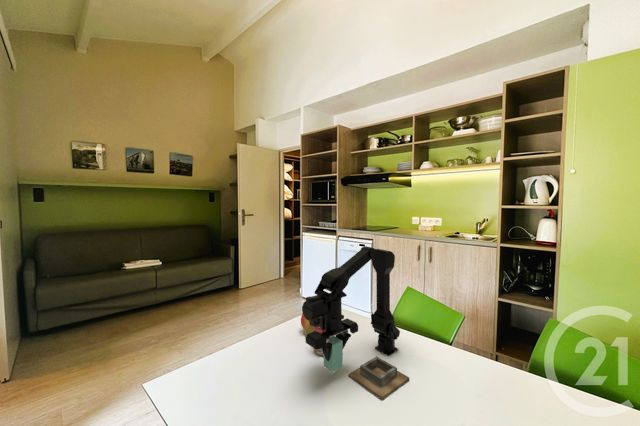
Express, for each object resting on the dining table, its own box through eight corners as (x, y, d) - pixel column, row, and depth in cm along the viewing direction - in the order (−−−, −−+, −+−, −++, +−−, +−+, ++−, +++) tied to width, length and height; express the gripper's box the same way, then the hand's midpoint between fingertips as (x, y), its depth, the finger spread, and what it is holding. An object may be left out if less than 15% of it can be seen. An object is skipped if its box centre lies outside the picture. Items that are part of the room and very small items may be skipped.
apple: (296, 332, 123) (296, 310, 122) (312, 325, 129) (312, 304, 129) (310, 340, 116) (310, 316, 115) (326, 332, 122) (326, 310, 122)
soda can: (330, 357, 103) (330, 323, 102) (311, 355, 104) (311, 322, 103) (333, 347, 110) (333, 315, 109) (315, 345, 111) (315, 314, 110)
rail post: (333, 360, 95) (333, 335, 94) (342, 367, 91) (342, 340, 91) (323, 366, 92) (323, 339, 91) (332, 372, 88) (332, 345, 88)
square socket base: (375, 360, 101) (375, 350, 100) (409, 380, 90) (409, 368, 90) (348, 376, 92) (348, 365, 92) (381, 400, 81) (382, 387, 81)
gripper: (337, 298, 102) (337, 338, 103) (295, 311, 91) (296, 357, 92) (359, 307, 94) (359, 351, 95) (316, 323, 82) (316, 373, 83)
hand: (333, 357), depth 91 cm, fingers closed on rail post, 4 cm apart
